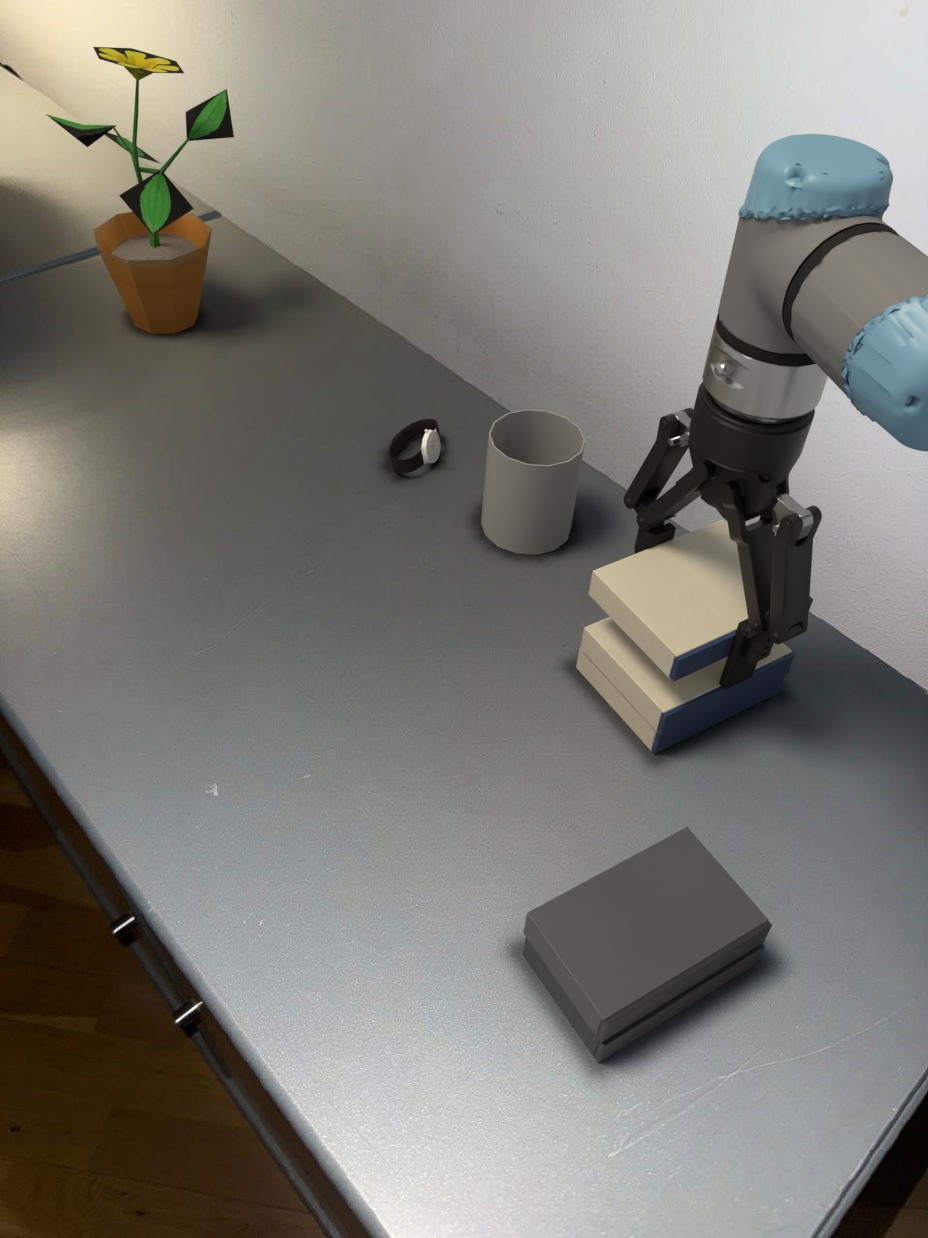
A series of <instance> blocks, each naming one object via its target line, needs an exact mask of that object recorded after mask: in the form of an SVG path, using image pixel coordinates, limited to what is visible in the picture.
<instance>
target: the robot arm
mask: <svg viewBox="0 0 928 1238" xmlns="http://www.w3.org/2000/svg"><path fill="white" fill-rule="evenodd" d="M893 183H894V175H893V171H892V169H891V165H890V162H889V160H888V159H887V158H886V157H885V156H884V155H883V153H882V152H879V151H878V150H877V149H875V148H873V147H872V146H870V145H867V144H864V143H862V142H860V141H857V140H853V139H852V138H848V137H842V136H837V135H832V134H822V133H805V134H791V135H788V136H783V137H781V138H779V139H776V140H774V141H773V142H770V144H768V145H767V146H766V147H765V148H764V149H763V150H762V151H761V153H760V154H759V156H758V158H757V160H756V162H755V165H754V169H753V171H752V176H751V179H750V182H749V186H748V189H747V192H746V195H745V199H744V202H743V204H742V205H741V206H740V207H739V209H738V216H739V217H738V221H737V224H736V225H737V226H736V229H735V234H734V238H733V244H732V246H731V251H730V257H729V260H728V263H727V264H728V265H727V269H726V272H725V273H726V275H725V278H724V282H723V287H722V290H721V291H722V292H721V295H720V300H719V304H718V309H717V315H716V319H715V323H714V326H713V331H712V335H711V338H710V341H709V342H710V343H709V347H708V351H707V356H706V360H705V363H704V367H703V373H702V382H701V383H700V384H699V387H698V389H697V393H696V397H695V402H694V406H693V408H692V407H687V408H684V409H681V410H677V411H675V412H672V413H669V414H666V415H662V416H661V417H660V419H659V423H658V427H657V433H656V438H655V441H654V443H653V445H652V447H651V449H650V450H649V452H648V454H647V456H646V457H645V458H644V461H643V462H642V464H641V466H640V468H639V470H638V471H637V473H636V475H635V476H634V477H633V480H632V481H631V483H630V485H629V486H628V488H627V490H626V492H625V493H624V495H623V504H624V506H625V507H626V508H627V509H628V510H632V509H633V510H634V512H635V513H636V523H637V526H638V529H637V533H636V538H635V542H634V548H633V549H634V554H636V553H639V552H641V551H644V550H647V549H649V548H652V547H654V546H657V545H659V544H662V543H664V542H667V541H669V540H672V539H674V538H675V534H676V530H677V527H676V526H675V525H673V523H671V522H667V523H665V521H668V520H670V519H673V518H675V517H677V514H678V513H679V512H681V511H682V510H683V509H685V508H686V507H688V506H689V505H690V504H691V503H692V502H694V501H695V500H696V499H698V498H700V499H701V500H702V501H703V502H704V503H705V504H707V505H708V506H710V507H712V508H714V509H715V510H716V511H717V512H718V513H719V515H720V516H721V517H722V518H723V520H724V521H725V522H726V523H727V524H728V528H729V535H730V539H731V540H732V541H734V542H736V544H737V549H738V555H739V562H740V568H741V575H742V581H743V588H744V594H745V601H746V607H747V614H748V619H746V620H744V621H741V622H739V624H738V627H737V630H736V633H735V637H734V640H733V643H732V646H731V649H730V652H729V655H728V657H727V660H726V663H725V666H724V669H723V672H722V675H721V678H720V681H719V684H720V685H721V686H722V687H723V688H724V689H725V690H727V689H729V688H731V687H733V686H735V685H737V684H739V683H741V682H743V681H745V680H747V679H749V678H752V676H753V674H754V671H755V668H756V665H757V662H758V661H760V660H762V659H764V658H766V657H768V656H769V655H770V652H771V649H772V647H773V644H774V643H775V644H781V643H786V642H787V641H790V640H791V639H793V638H796V637H798V636H801V635H803V634H805V633H806V632H807V631H808V628H809V627H808V626H809V614H810V613H809V612H810V609H809V597H811V580H812V565H813V564H812V563H813V549H814V538H815V536H816V533H817V531H818V528H819V527H820V524H821V522H822V517H823V514H822V511H821V509H820V508H819V507H818V506H817V505H809V506H807V507H804V506H802V505H801V504H799V503H798V501H796V500H795V499H794V498H793V497H792V496H791V495H790V483H789V482H790V481H789V478H790V473H791V471H793V468H794V467H795V465H796V463H798V461H799V459H800V457H801V455H802V454H803V450H804V448H805V444H806V441H807V439H808V435H809V433H810V430H811V427H812V424H813V420H814V418H815V414H816V408H817V407H818V405H819V403H820V402H821V399H822V396H823V393H824V390H825V386H826V383H827V380H828V379H830V380H831V381H832V382H833V383H834V384H835V385H836V386H837V388H838V389H839V390H840V391H841V392H843V394H844V395H845V396H846V398H847V399H849V400H850V403H851V405H852V406H853V407H854V408H856V410H857V411H858V412H859V413H860V414H861V415H862V416H865V417H867V419H869V420H870V421H871V422H873V423H876V424H877V425H879V426H880V427H881V428H882V429H883V430H884V431H885V432H887V433H888V434H889V435H890V436H891V437H892V438H894V440H896V441H897V442H898V443H899V444H901V445H902V446H905V447H907V448H909V449H912V450H914V451H919V452H928V255H927V254H926V253H925V252H923V251H921V250H920V249H919V248H918V247H917V246H915V245H914V244H912V243H911V242H910V241H908V239H906V238H905V237H903V236H902V235H900V234H899V233H898V232H897V231H896V230H895V229H894V228H893V227H891V226H890V225H889V224H887V223H886V222H884V221H883V217H884V214H885V212H886V211H887V210H888V208H889V206H891V204H890V196H891V190H892V186H893ZM687 451H689V456H690V460H691V465H692V467H691V468H690V470H689V471H687V472H686V473H685V474H684V475H682V476H681V477H680V478H679V479H677V480H676V481H675V484H674V485H673V486H672V487H670V488H669V489H668V490H667V491H666V492H664V493H663V494H662V495H661V493H662V491H663V490H664V488H665V486H666V485H667V483H668V481H669V480H670V478H671V477H672V474H673V473H674V472H675V470H676V469H677V467H678V466H679V464H680V462H681V461H682V459H683V457H684V456H685V454H686V452H687ZM756 518H759V519H758V520H756V521H755V522H752V523H750V524H747V523H746V522H749V521H751V520H754V519H756Z"/></svg>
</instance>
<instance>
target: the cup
mask: <svg viewBox="0 0 928 1238" xmlns="http://www.w3.org/2000/svg"><path fill="white" fill-rule="evenodd" d="M487 440H488V441H487V450H486V462H485V473H484V485H483V496H482V506H481V518H480V523H481V524H480V525H481V527H482V530H483V533H484V535H485V537H486V538H487V539H489V540H490V541H491V542H492V543H493V544H494V545H495V546H497V547H498V548H500V549H503V550H505V551H508V552H512V553H513V554H516V555H531V556H534V555H535V556H538V555H542V554H546V553H549V552H553V551H556V550H557V549H559V548H560V547H561V546H562V545H564V544H565V543H566V542H567V541H568V539H569V535H570V533H571V528H572V524H573V519H574V518H573V517H574V510H575V505H576V498H577V493H578V487H579V481H580V474H581V469H582V464H583V456H584V451H585V444H586V438H585V436H584V434H583V431H582V430H581V427H580V426H578V425H577V424H576V423H574V422H573V421H572V420H570V419H569V418H568V417H567V416H563V415H561V414H558V413H554V412H552V411H549V410H542V409H541V410H540V409H521V410H516V411H512V412H507V413H506V414H504V415H502V416H500V417H499V418H498V419H496V420H494V421H493V423H492V425H491V427H490V430H489V433H488V439H487Z"/></svg>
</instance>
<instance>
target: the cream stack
mask: <svg viewBox="0 0 928 1238" xmlns="http://www.w3.org/2000/svg"><path fill="white" fill-rule="evenodd" d="M795 656H796V654H795V653H794V652H793V651H792V649H791V648H789V647H788V645H786V643H785V642H783V643H781V644H775V643H774V644H773V647H772V649H771V652H770V655H769V656H768V657H766V658H764V659H762V660H760V661H758V662H757V665H756V668H755V671H754V674H753V676H752V678H749V679H747V680H745V681H743V682H741V683H739V684H737V685H735V686H733V687H731V688H729V689H727V690H725V689H724V688H723V687H722V686H721V685H720V684H719V681H720V678H721V675H722V672H723V669H724V666H725V663H726V660H727V657H726V658H724V659H721V660H719V661H717V662H715V663H713V664H711V665H708V666H706V667H704V668H702V669H700V670H698V671H696V672H693V673H691V674H689V675H687V676H685V677H683V678H680V679H678V680H676V681H674V682H673V681H672V680H671V679H669V678H668V677H667V676H666V675H665V674H664V672H663V671H662V670H661V669H660V668H659V667H658V666H657V665H656V664H655V663H654V662H653V661H652V660H651V659H650V658H649V657H648V656H647V655H646V654H645V653H644V652H643V651H642V650H641V649H640V647H639V646H638V645H637V644H636V643H635V642H634V641H633V640H632V639H631V638H630V637H629V636H628V635H627V634H626V633H625V632H624V631H623V630H622V629H621V628H620V627H619V626H618V625H617V624H616V622H615V621H614V620H613V619H612V618H611V617H610V616H607V617H605V618H603V619H600V620H598V621H595V622H593V623H591V624H589V625H587V626H584V627H583V631H582V636H581V642H580V646H579V650H578V655H577V660H576V664H575V665H576V666H575V667H576V669H577V671H578V672H579V673H580V674H581V675H582V676H583V677H584V678H585V679H586V680H587V682H588V683H589V684H590V685H591V686H592V688H594V689H595V691H596V692H597V693H598V694H599V695H600V696H601V697H602V698H603V699H604V700H605V702H606V703H607V704H608V705H609V707H611V709H612V710H613V711H615V713H616V714H617V715H618V716H619V717H620V718H621V719H622V721H623V722H624V723H625V724H626V725H627V726H628V727H629V728H630V729H631V730H632V732H633V733H634V734H635V735H636V736H637V737H638V738H639V740H640V741H641V742H642V743H643V744H644V745H645V746H646V747H647V748H648V750H650V752H652V753H653V754H658V753H660V752H661V751H664V750H666V749H668V748H670V747H672V746H674V745H675V744H678V743H680V742H682V741H683V740H686V739H688V738H690V737H692V736H694V735H696V734H698V733H700V732H702V731H704V730H706V729H708V728H710V727H712V726H715V725H716V724H718V723H720V722H723V721H725V720H726V719H728V718H730V717H733V716H734V715H736V714H739V713H741V712H742V711H745V710H746V709H748V708H751V707H752V706H755V705H756V704H759V703H761V702H763V701H765V700H767V699H768V698H771V697H773V696H775V695H777V694H779V693H780V691H781V688H782V686H783V683H784V681H785V679H786V676H787V675H788V674H789V672H790V669H791V667H792V664H793V661H794V659H795Z"/></svg>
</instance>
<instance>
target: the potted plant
mask: <svg viewBox="0 0 928 1238" xmlns="http://www.w3.org/2000/svg"><path fill="white" fill-rule="evenodd" d="M92 48H93V50H94V52H95V54H96V56H97V58H98V59H99V60H101V61H105V62H108V63H112V64H114V65H119V66H122V67H123V68H124V69H125V70H126V71H127V72H128V73H129V74H130V75H131V77H133V78H134V79H135V94H134V109H133V124H132V138H131V139H132V140H129V139H128V138H126V137H123V136H121V134H120V133H119V131H118V130H117V129H116V127H117V126H118V125H117V124H83V123H79V122H76V121H71V120H69V119H65V118H62V117H58V116H54V115H50V114H46V113H45V115H46V116H47V117H48V118H49V119H51V120H52V121H53V122H55V123H56V124H57V125H58V126H59V127H61V128H62V129H63V130H64V131H66V132H67V133H69V135H71V136H72V137H74V138H75V139H76V140H77V141H79V142H80V143H81V144H82V145H84V146H85V147H86V148H89V147H90V146H91V145H93V144H94V143H96V142H97V141H98V140H99V139H101V138H102V137H104V136H106V138H108V139H110V140H111V141H113V142H114V143H115V144H117V146H119V147H121V148H122V149H123V150H125V151H126V152H127V153H129V155H130V157H131V161H132V165H133V169H134V172H135V176H136V180H137V184H135V185H134V186H132V187H130V188H129V189H127V190H125V191H124V192H122V193H121V194H119V195H118V196H119V197H120V198H121V200H122V201H123V202H124V204H125V205H126V206H127V207H128V208H129V210H130V211H127V212H121V213H117V214H116V215H114V216H112V217H111V218H109V219H108V220H106V221H105V222H103V223H102V224H100V225H99V226H97V227H96V228H93V234H94V239H95V244H96V249H97V252H98V253H99V255H100V257H101V259H102V261H103V263H104V265H105V268H106V270H107V272H108V274H109V276H110V278H111V280H112V282H113V285H114V286H115V288H116V290H117V293H118V294H119V296H120V299H121V300H122V303H123V304H124V307H125V308H126V311H127V313H128V315H129V317H130V319H131V321H132V323H133V325H134V327H135V328H137V329H139V330H142V331H144V332H146V333H149V334H151V335H161V334H163V335H164V334H165V335H166V334H178V333H180V332H182V331H184V330H186V329H190V328H191V327H193V326H195V323H196V320H197V319H198V316H199V311H200V306H201V299H202V293H203V287H204V281H205V275H206V268H207V263H208V255H209V250H210V244H211V237H212V233H213V232H212V231H213V229H212V228H211V227H210V226H209V225H208V224H207V223H205V222H204V221H203V220H202V219H201V218H199V217H198V216H197V215H196V214H194V213H193V212H191V211H193V210H194V209H195V208H194V207H193V205H191V203H190V202H189V201H188V200H187V199H186V197H185V196H184V195H183V193H182V192H181V191H180V190H179V189H178V188H177V186H176V185H175V184H174V183H173V182H172V180H171V179H170V178H169V177H168V175H166V171H167V170H168V169H169V168H170V166H171V165H172V163H173V162H174V161H175V159H176V158H177V157H178V156H179V154H180V153H181V151H182V150H183V149H184V148H185V147H186V145H187V144H188V142H193V141H196V142H197V141H205V140H218V139H219V140H220V139H231V138H235V134H234V127H233V121H232V114H231V107H230V101H229V95H228V89H227V88H225V89H223V90H222V91H220V92H218V93H216V94H214V95H213V96H211V97H209V98H208V99H206V100H204V101H202V102H200V103H199V104H197V105H195V106H194V107H192V108H190V109H188V110H186V111H185V131H186V140H185V141H184V142H182V143H181V145H180V146H179V147H178V148H177V150H176V151H175V152H174V153H172V155H171V156H170V157H169V159H168V160H167V161H166V162H165V163H163V165H162V164H161V162H159V160H157V159H155V158H154V157H153V156H151V155H150V154H149V153H148V152H145V150H143V149H142V148H140V147H139V146H138V144H137V143H138V142H137V141H138V128H139V127H138V125H139V110H140V109H139V106H140V105H139V104H140V103H139V100H140V81H141V80H143V79H145V78H146V77H148V76H150V75H153V74H185V72H184V70H183V69H182V68H181V66H180V65H179V63H178V62H177V60H175V59H174V60H173V59H171V58H167V57H163V56H161V55H156V54H153V53H150V52H146V51H143V50H139V49H137V48H132V47H109V46H108V47H107V46H92ZM112 130H113V131H114V132H115V133H111V131H112ZM139 158H140V159H144V160H146V161H150V162H154V163H157V164H160V165H162V166H161V167H160V168H159V169H158V168H153V167H152V168H151V167H143V166H140V161H139ZM142 173H143V174H144V173H145V174H150V175H149V176H148V177H146V178H145V179H143V176H142Z"/></svg>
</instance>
